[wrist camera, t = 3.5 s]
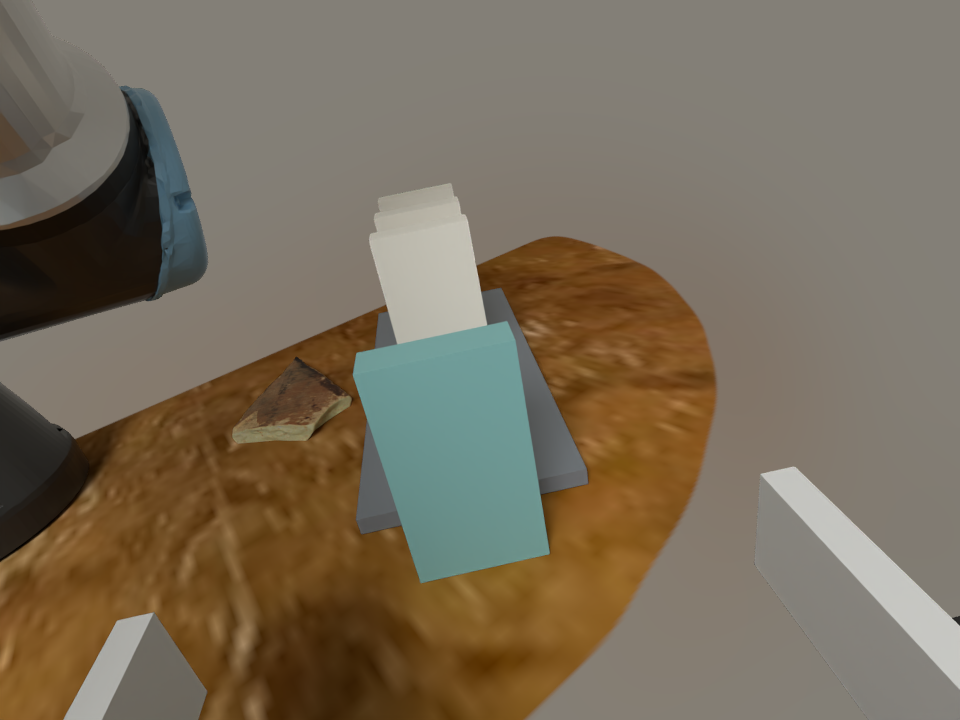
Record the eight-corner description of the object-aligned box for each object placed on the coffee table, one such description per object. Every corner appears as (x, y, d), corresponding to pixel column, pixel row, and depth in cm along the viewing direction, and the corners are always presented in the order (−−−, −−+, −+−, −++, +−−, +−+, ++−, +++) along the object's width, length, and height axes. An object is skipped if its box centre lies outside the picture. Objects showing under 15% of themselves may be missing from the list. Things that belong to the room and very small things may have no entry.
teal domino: (420, 583, 25) (352, 374, 20) (419, 553, 26) (356, 353, 21) (549, 554, 25) (515, 340, 20) (541, 525, 27) (507, 320, 22)
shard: (301, 371, 48) (294, 353, 47) (383, 365, 46) (377, 346, 45) (233, 450, 38) (223, 429, 38) (332, 445, 37) (324, 423, 36)
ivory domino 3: (411, 396, 38) (368, 240, 33) (411, 383, 39) (370, 233, 34) (496, 377, 38) (467, 220, 33) (493, 365, 39) (464, 213, 34)
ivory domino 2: (410, 357, 43) (373, 218, 38) (410, 347, 45) (375, 213, 39) (485, 341, 43) (458, 201, 38) (482, 332, 45) (456, 196, 40)
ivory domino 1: (409, 327, 48) (377, 202, 43) (409, 319, 50) (378, 197, 45) (476, 313, 48) (452, 186, 43) (474, 305, 50) (450, 182, 45)
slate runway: (361, 534, 28) (355, 520, 28) (381, 322, 53) (378, 313, 53) (588, 483, 29) (586, 468, 28) (502, 297, 53) (501, 287, 53)
